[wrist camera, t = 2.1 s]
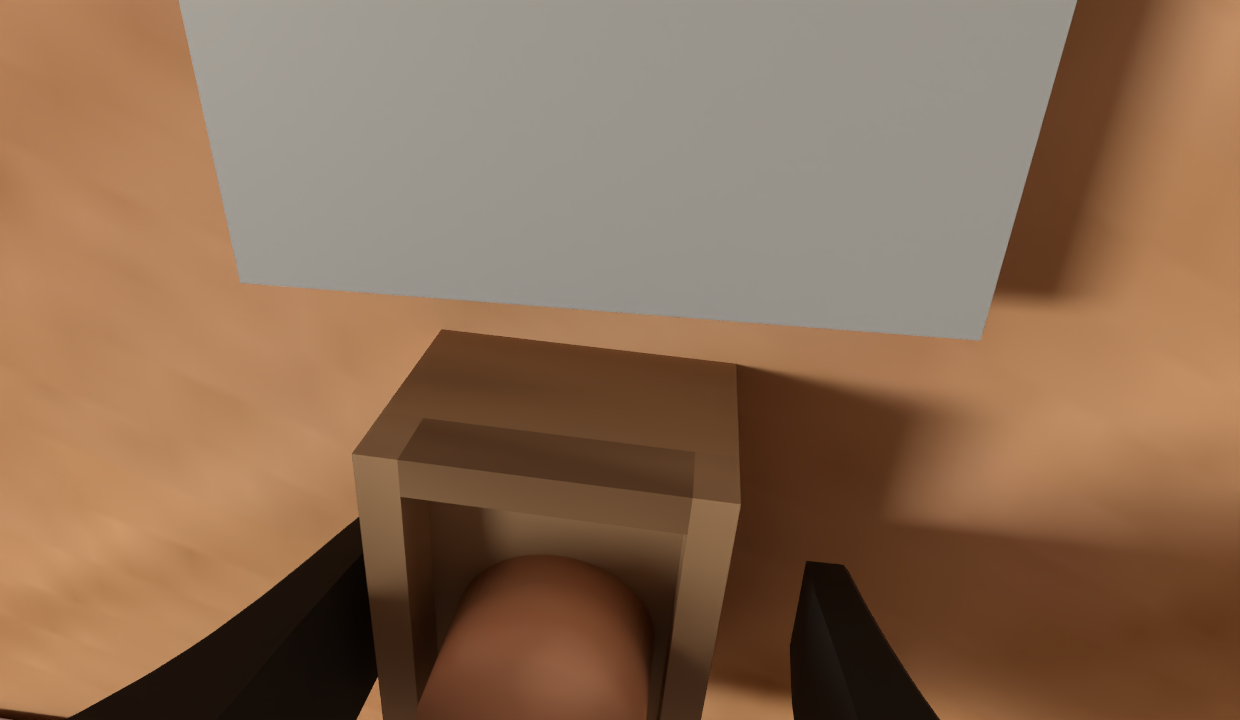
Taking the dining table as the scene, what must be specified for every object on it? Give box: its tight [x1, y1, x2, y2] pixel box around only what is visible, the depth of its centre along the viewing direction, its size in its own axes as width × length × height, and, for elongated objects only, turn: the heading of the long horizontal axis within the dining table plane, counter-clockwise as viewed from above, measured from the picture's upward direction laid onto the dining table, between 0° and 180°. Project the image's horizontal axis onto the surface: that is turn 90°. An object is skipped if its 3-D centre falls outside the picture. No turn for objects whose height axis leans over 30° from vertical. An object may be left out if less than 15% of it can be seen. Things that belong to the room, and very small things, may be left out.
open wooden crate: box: [352, 330, 741, 720], centre depth 13 cm, size 8×5×4 cm, turn 176°
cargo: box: [416, 555, 655, 720], centre depth 12 cm, size 3×3×2 cm
